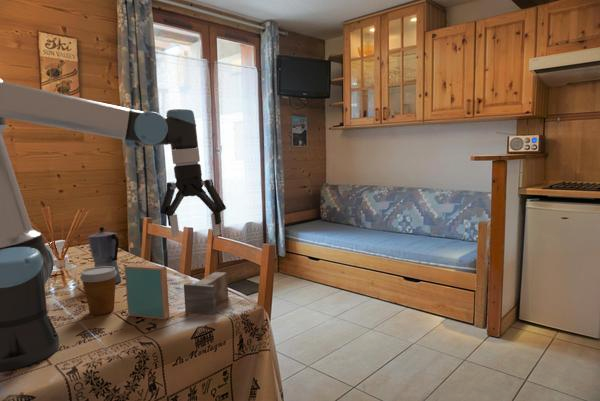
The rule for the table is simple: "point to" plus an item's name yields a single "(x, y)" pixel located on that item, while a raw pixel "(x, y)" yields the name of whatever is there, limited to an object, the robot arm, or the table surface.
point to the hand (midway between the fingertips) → (196, 236)
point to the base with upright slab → (59, 247)
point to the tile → (147, 291)
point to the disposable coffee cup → (99, 288)
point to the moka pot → (105, 250)
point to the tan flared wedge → (206, 294)
